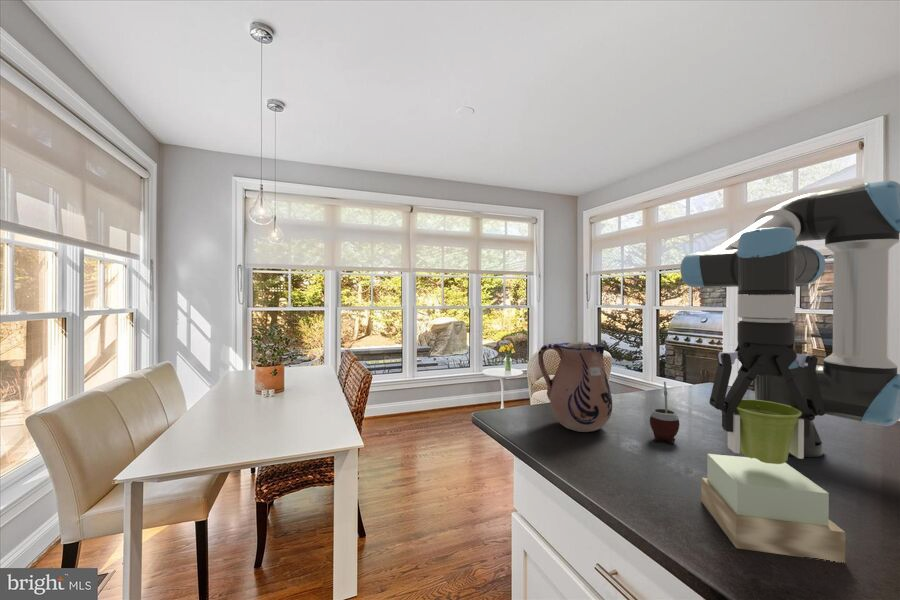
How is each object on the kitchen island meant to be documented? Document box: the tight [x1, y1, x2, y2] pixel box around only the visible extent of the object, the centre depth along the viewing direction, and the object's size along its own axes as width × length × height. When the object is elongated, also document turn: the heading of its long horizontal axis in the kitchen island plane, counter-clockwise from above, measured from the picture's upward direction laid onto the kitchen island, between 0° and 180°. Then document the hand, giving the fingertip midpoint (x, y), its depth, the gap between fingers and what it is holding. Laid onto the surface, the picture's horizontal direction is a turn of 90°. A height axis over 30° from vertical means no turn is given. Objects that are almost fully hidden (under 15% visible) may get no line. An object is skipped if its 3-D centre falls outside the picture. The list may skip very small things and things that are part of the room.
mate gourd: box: [649, 381, 680, 446], centre depth 105 cm, size 8×8×15 cm
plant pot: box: [735, 398, 802, 464], centre depth 65 cm, size 9×9×9 cm
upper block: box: [706, 453, 830, 526], centre depth 65 cm, size 12×12×5 cm
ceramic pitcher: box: [537, 341, 613, 433], centre depth 115 cm, size 18×21×25 cm
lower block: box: [700, 477, 846, 564], centre depth 65 cm, size 14×14×5 cm
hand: (764, 452), depth 66 cm, fingers closed on plant pot, 8 cm apart
